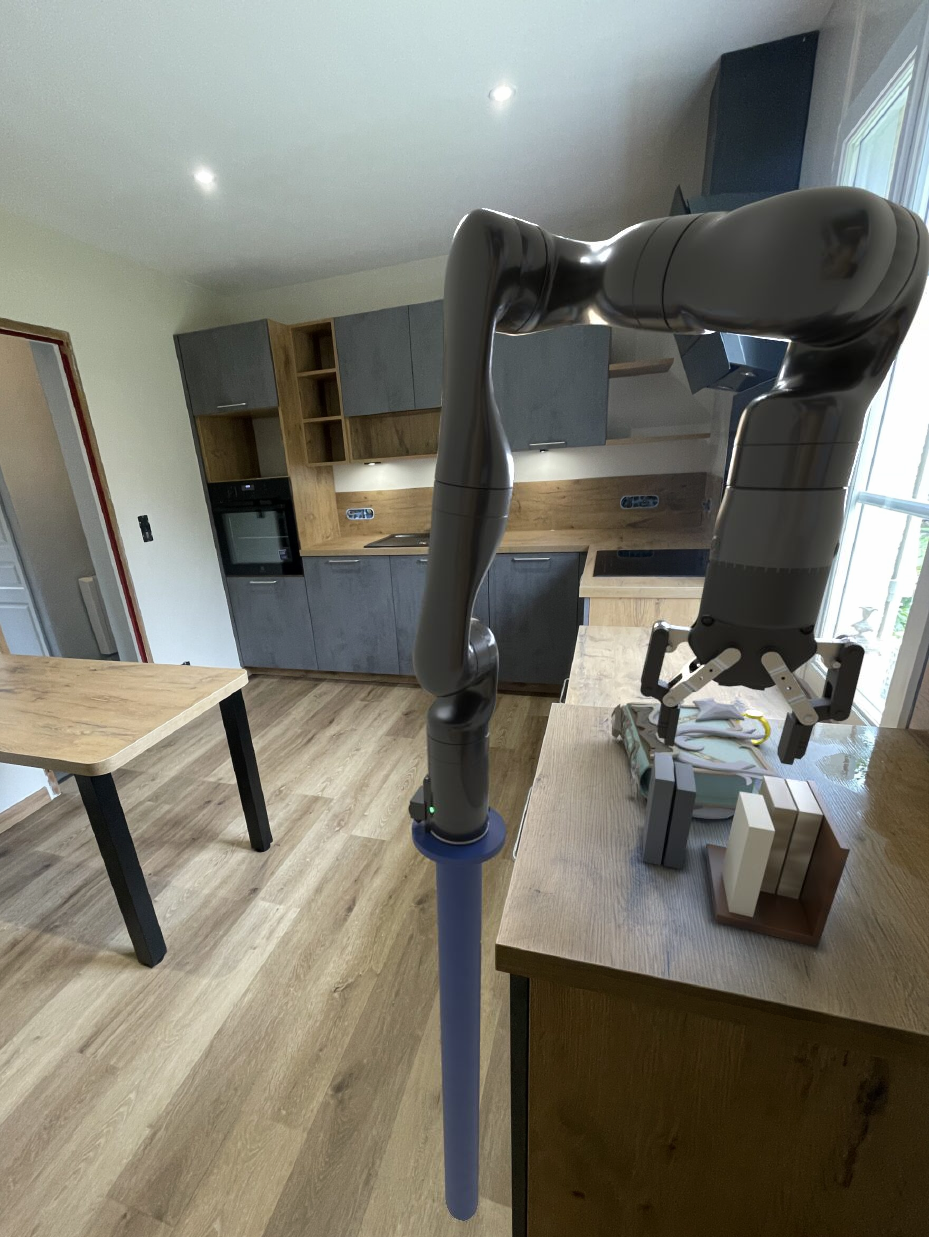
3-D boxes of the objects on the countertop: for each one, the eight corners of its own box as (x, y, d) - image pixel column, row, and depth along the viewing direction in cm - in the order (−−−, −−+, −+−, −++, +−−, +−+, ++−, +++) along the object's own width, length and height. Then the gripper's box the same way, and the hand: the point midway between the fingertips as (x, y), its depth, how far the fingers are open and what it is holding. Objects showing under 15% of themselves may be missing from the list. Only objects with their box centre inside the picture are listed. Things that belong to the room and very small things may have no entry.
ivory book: (729, 911, 61) (749, 826, 57) (721, 871, 67) (739, 791, 63) (752, 917, 60) (775, 831, 56) (743, 875, 66) (762, 795, 62)
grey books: (642, 861, 71) (655, 778, 66) (643, 830, 77) (654, 752, 72) (682, 869, 69) (697, 785, 64) (679, 837, 75) (693, 757, 71)
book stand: (715, 922, 61) (736, 829, 56) (704, 850, 73) (721, 767, 68) (818, 947, 58) (850, 849, 53) (790, 867, 69) (814, 780, 64)
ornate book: (605, 733, 106) (630, 821, 79) (610, 689, 103) (637, 763, 75) (728, 741, 102) (800, 836, 74) (737, 695, 99) (815, 776, 71)
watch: (769, 745, 98) (776, 717, 96) (761, 750, 97) (768, 721, 95) (737, 733, 103) (743, 705, 101) (729, 737, 101) (734, 709, 99)
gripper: (872, 549, 38) (813, 743, 45) (660, 542, 44) (634, 717, 50) (916, 569, 32) (840, 793, 38) (661, 558, 37) (631, 757, 43)
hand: (723, 750), depth 44 cm, fingers open, 8 cm apart
